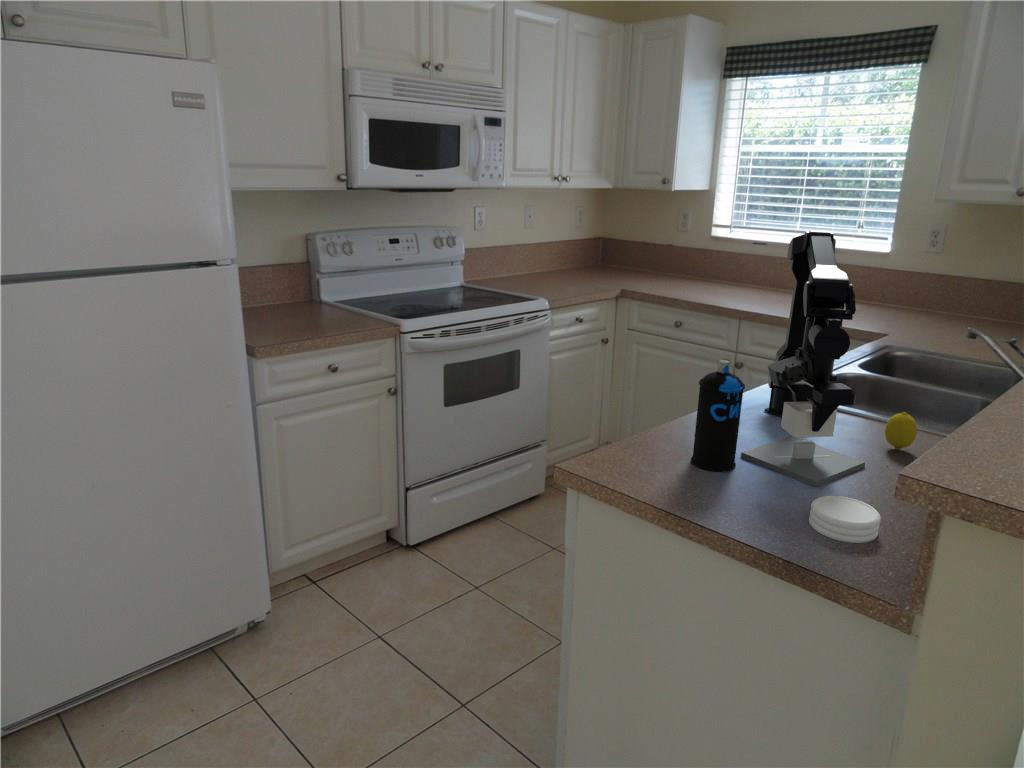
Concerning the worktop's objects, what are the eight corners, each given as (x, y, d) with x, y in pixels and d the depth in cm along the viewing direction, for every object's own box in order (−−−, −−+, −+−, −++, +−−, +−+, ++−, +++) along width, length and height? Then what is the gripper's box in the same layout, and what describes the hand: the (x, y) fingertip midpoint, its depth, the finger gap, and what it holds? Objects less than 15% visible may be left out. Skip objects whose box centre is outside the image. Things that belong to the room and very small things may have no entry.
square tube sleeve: (780, 426, 140) (784, 401, 138) (818, 425, 140) (822, 400, 139) (794, 437, 134) (798, 410, 133) (833, 436, 135) (837, 410, 134)
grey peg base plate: (740, 457, 141) (743, 437, 140) (790, 440, 150) (792, 422, 149) (815, 486, 128) (819, 466, 127) (864, 466, 137) (868, 447, 136)
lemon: (903, 444, 149) (910, 407, 147) (918, 455, 144) (926, 417, 141) (876, 444, 149) (883, 407, 146) (891, 455, 143) (898, 416, 141)
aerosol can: (681, 458, 140) (691, 357, 134) (716, 452, 143) (727, 353, 137) (709, 474, 132) (720, 369, 126) (744, 468, 136) (758, 365, 130)
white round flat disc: (843, 550, 108) (847, 528, 107) (794, 520, 117) (797, 500, 116) (892, 537, 112) (896, 517, 111) (841, 509, 121) (844, 490, 120)
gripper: (755, 333, 140) (746, 409, 145) (801, 359, 123) (789, 445, 127) (810, 333, 142) (799, 408, 146) (864, 359, 124) (849, 444, 129)
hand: (807, 425), depth 137 cm, fingers closed on square tube sleeve, 5 cm apart
